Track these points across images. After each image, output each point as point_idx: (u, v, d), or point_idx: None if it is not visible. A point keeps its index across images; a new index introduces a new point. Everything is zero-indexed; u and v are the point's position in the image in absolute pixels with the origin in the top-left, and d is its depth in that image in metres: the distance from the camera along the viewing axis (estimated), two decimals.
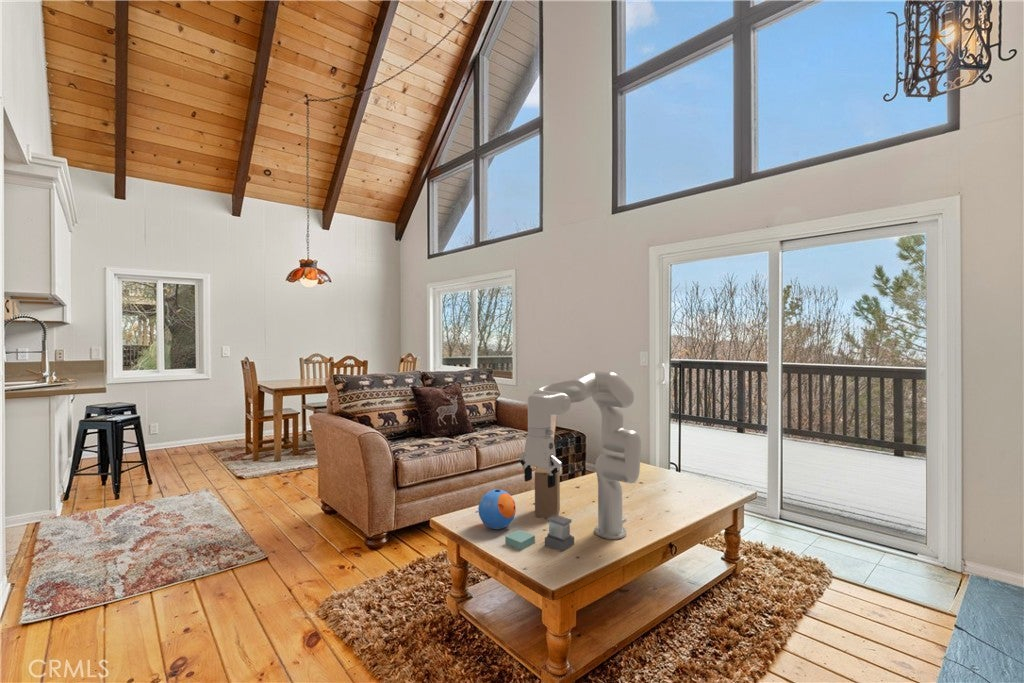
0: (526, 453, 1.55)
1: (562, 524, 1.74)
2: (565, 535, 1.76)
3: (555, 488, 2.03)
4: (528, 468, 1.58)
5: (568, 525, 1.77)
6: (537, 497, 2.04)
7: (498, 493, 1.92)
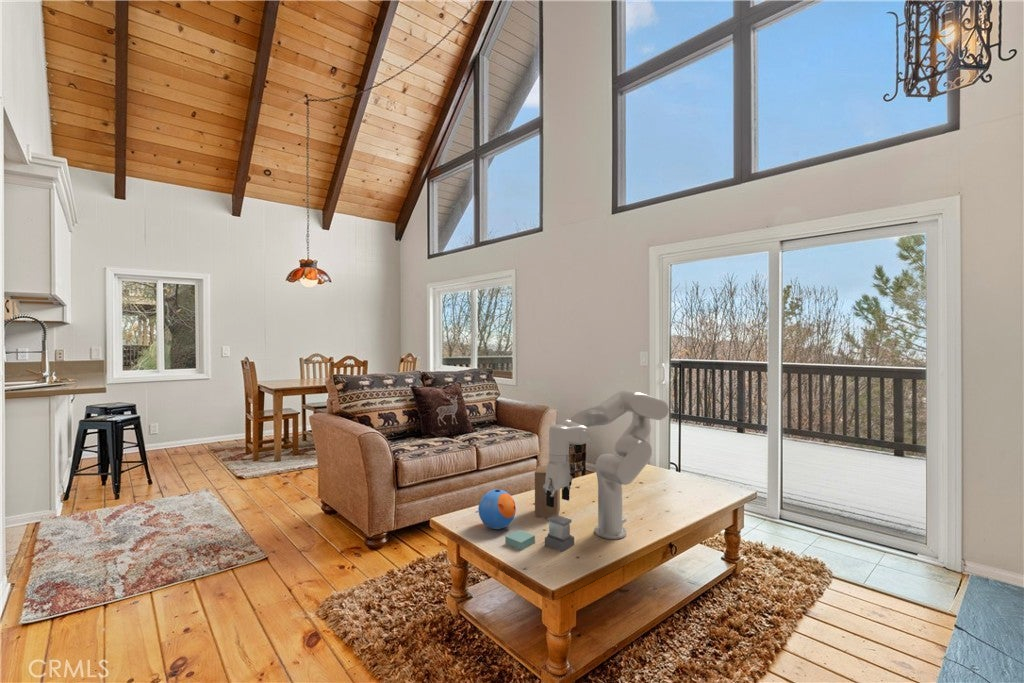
0: (557, 480, 1.73)
1: (562, 524, 1.74)
2: (565, 535, 1.76)
3: None
4: None
5: (568, 525, 1.77)
6: (537, 496, 2.04)
7: (498, 493, 1.92)
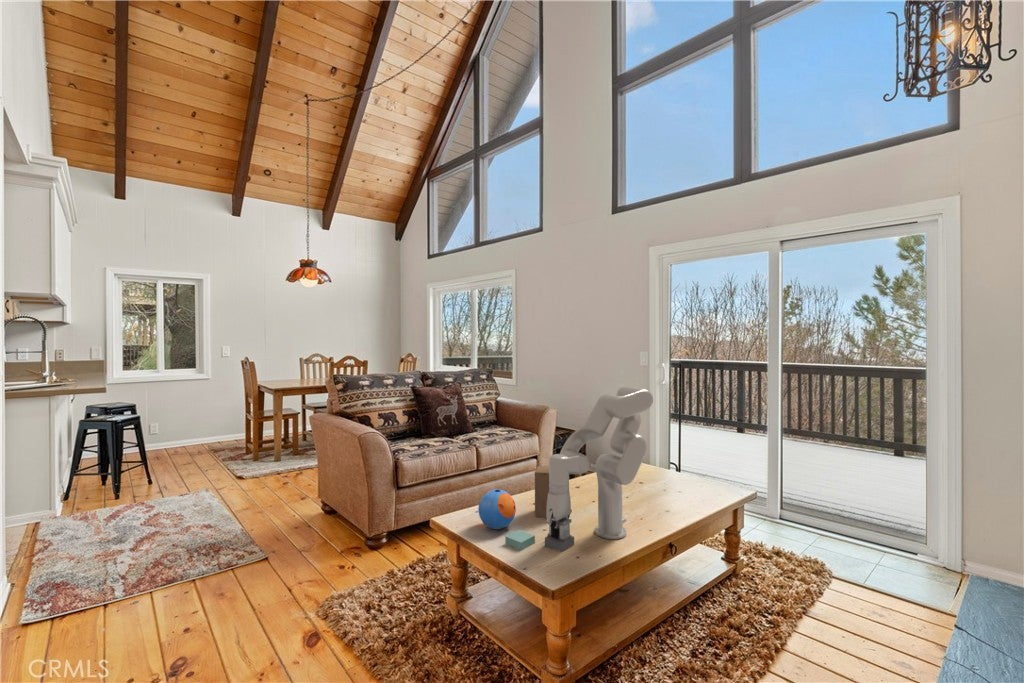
0: (558, 511, 1.74)
1: (562, 524, 1.74)
2: (565, 535, 1.76)
3: None
4: None
5: (568, 525, 1.77)
6: (537, 496, 2.04)
7: (498, 493, 1.92)
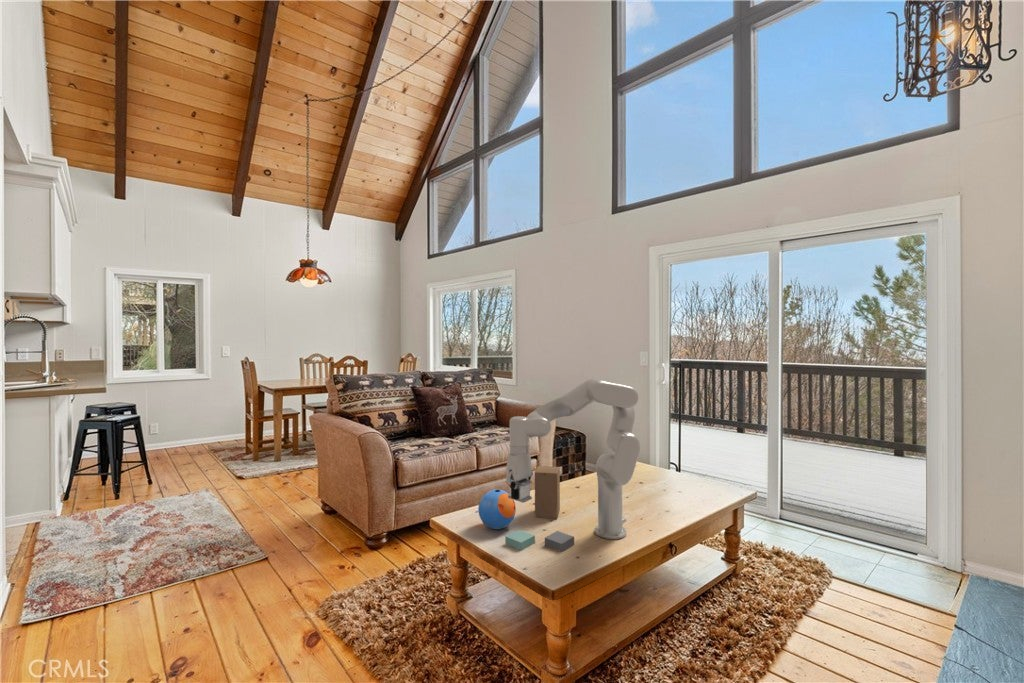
0: (517, 471, 1.75)
1: (521, 485, 1.75)
2: (525, 496, 1.77)
3: (555, 488, 2.03)
4: None
5: (528, 486, 1.78)
6: (537, 496, 2.04)
7: (498, 493, 1.92)
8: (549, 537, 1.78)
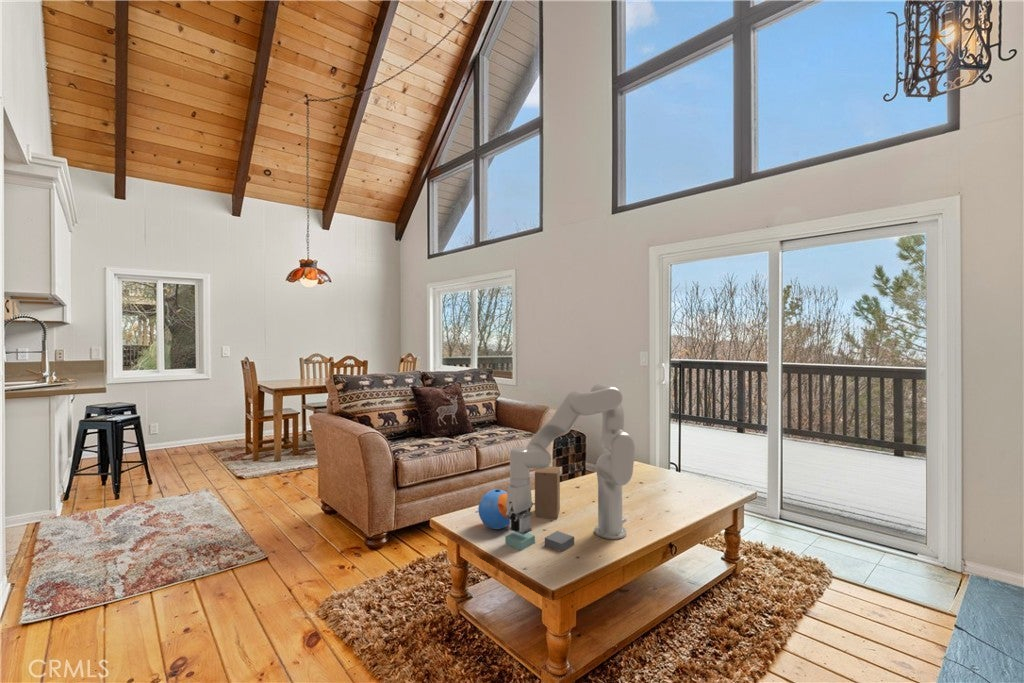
0: (517, 503, 1.75)
1: (521, 517, 1.75)
2: (525, 528, 1.77)
3: (555, 488, 2.03)
4: None
5: (528, 518, 1.79)
6: (537, 496, 2.04)
7: (498, 493, 1.92)
8: (549, 537, 1.78)
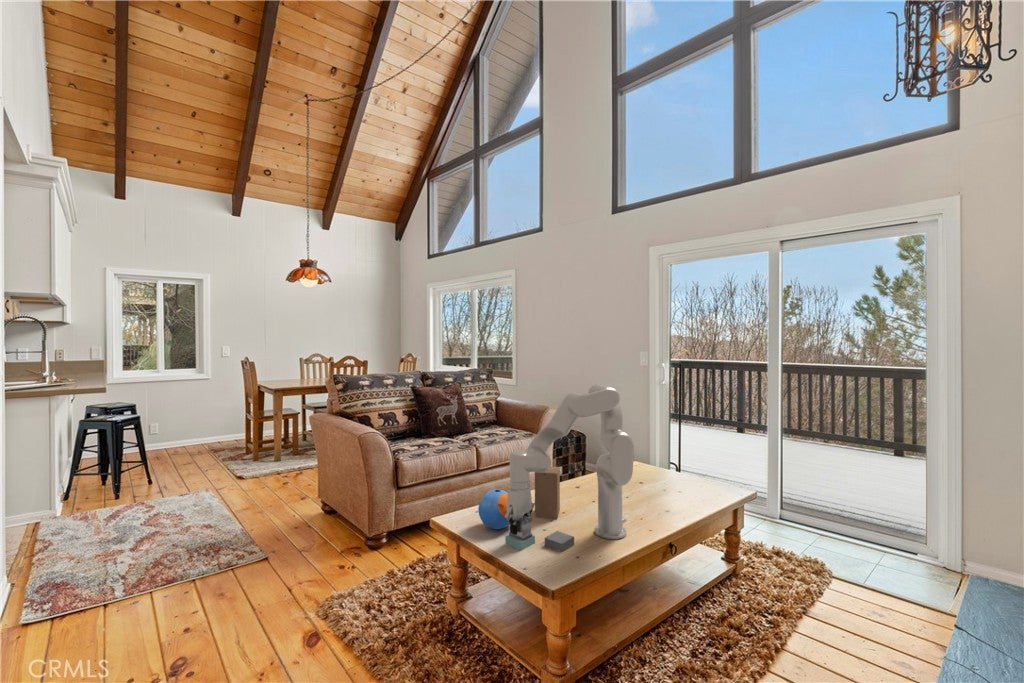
0: (517, 507, 1.75)
1: (522, 523, 1.76)
2: (526, 534, 1.77)
3: (555, 488, 2.03)
4: None
5: (529, 524, 1.79)
6: (537, 496, 2.04)
7: (498, 493, 1.92)
8: (549, 537, 1.78)
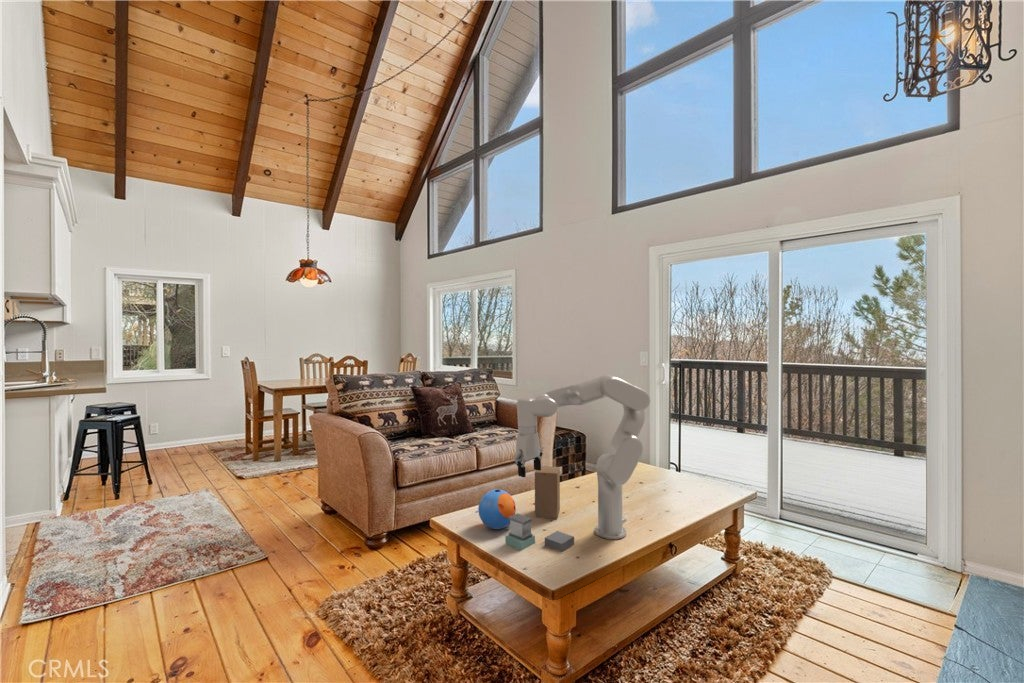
0: (527, 451, 1.79)
1: (522, 523, 1.76)
2: (526, 534, 1.77)
3: (555, 488, 2.03)
4: None
5: (529, 524, 1.79)
6: (537, 496, 2.04)
7: (498, 493, 1.92)
8: (549, 537, 1.78)
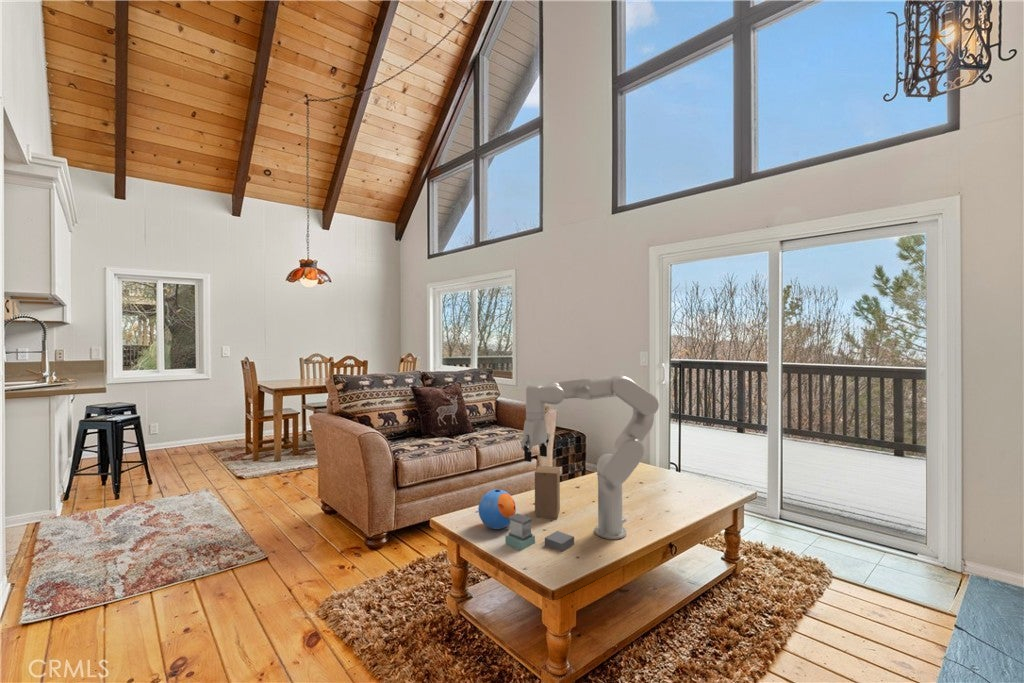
0: (533, 436, 1.83)
1: (522, 523, 1.76)
2: (526, 534, 1.77)
3: (555, 488, 2.03)
4: None
5: (529, 524, 1.79)
6: (537, 496, 2.04)
7: (498, 493, 1.92)
8: (549, 537, 1.78)
